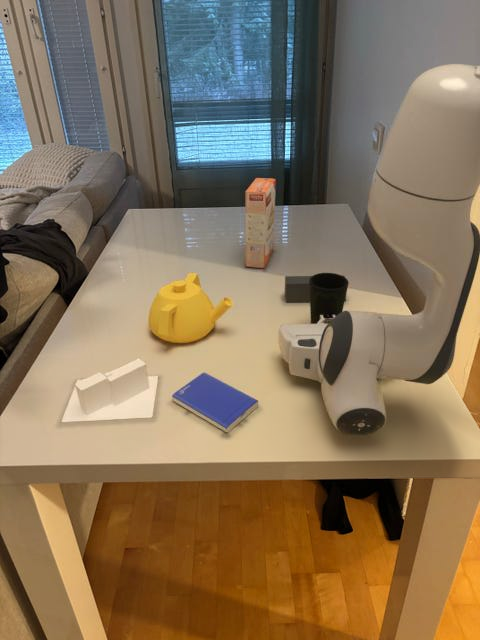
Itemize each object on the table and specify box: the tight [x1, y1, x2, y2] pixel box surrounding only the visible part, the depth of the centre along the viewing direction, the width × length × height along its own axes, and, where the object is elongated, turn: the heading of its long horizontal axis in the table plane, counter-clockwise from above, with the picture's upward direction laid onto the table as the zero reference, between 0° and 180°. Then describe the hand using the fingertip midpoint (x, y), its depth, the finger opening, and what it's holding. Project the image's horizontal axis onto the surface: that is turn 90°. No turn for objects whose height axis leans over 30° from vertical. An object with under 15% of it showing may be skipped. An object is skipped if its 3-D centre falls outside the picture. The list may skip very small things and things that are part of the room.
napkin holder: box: [60, 358, 159, 423], centre depth 80 cm, size 15×11×6 cm
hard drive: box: [171, 372, 259, 434], centre depth 79 cm, size 2×8×12 cm
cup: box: [309, 272, 349, 324], centre depth 95 cm, size 8×8×12 cm
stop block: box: [284, 274, 347, 304], centre depth 110 cm, size 14×4×5 cm, turn 90°
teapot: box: [148, 272, 234, 344], centre depth 97 cm, size 20×18×11 cm
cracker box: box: [244, 177, 277, 269], centre depth 126 cm, size 14×6×21 cm, turn 167°
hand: (326, 317), depth 92 cm, fingers closed, pressing on cup
